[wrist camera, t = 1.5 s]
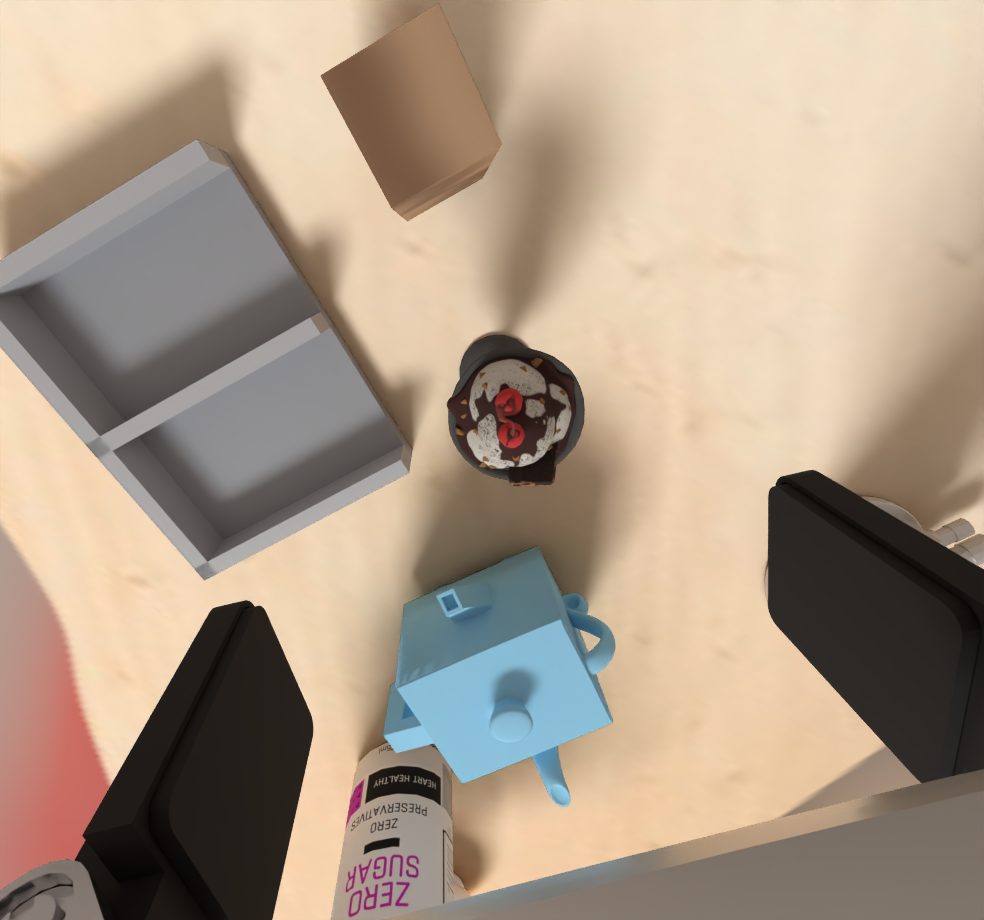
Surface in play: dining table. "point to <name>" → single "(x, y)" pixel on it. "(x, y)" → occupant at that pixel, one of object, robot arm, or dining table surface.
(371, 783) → the soda can
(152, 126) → the dining table surface
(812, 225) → the dining table surface
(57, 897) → the robot arm
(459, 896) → the flower vase
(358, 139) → the walnut block
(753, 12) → the dining table surface
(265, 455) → the grey divided tray
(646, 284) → the dining table surface
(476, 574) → the teapot
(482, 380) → the sundae
